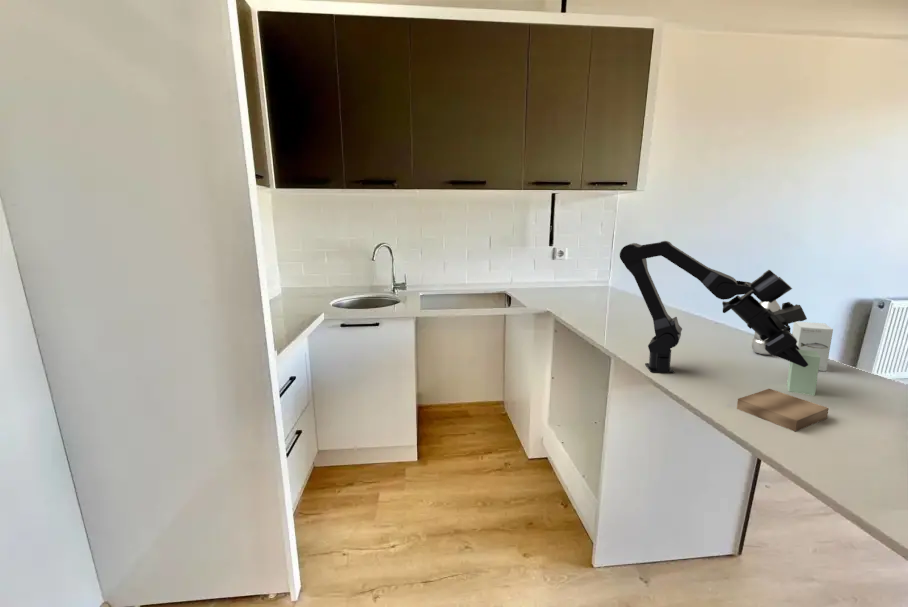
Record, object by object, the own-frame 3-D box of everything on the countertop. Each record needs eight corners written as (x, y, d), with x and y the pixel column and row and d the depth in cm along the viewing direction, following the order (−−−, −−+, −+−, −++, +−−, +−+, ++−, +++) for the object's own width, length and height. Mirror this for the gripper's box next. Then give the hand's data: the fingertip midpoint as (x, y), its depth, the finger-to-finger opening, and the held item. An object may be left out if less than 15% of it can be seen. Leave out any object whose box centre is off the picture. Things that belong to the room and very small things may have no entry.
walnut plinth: (736, 408, 97) (737, 398, 96) (767, 398, 101) (769, 388, 101) (795, 431, 86) (796, 420, 85) (827, 418, 91) (828, 407, 90)
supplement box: (794, 368, 119) (799, 326, 116) (788, 360, 125) (793, 320, 123) (827, 372, 115) (833, 329, 113) (819, 363, 122) (825, 322, 119)
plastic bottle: (765, 358, 128) (773, 295, 124) (745, 351, 134) (751, 291, 130) (781, 355, 130) (789, 293, 125) (760, 349, 136) (767, 290, 132)
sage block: (788, 391, 104) (793, 354, 102) (786, 384, 108) (791, 348, 106) (814, 395, 102) (820, 357, 100) (811, 388, 106) (816, 351, 104)
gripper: (788, 301, 95) (846, 352, 92) (780, 288, 111) (829, 331, 107) (744, 330, 101) (796, 379, 97) (742, 314, 117) (787, 356, 113)
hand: (803, 360), depth 103 cm, fingers open, 9 cm apart
